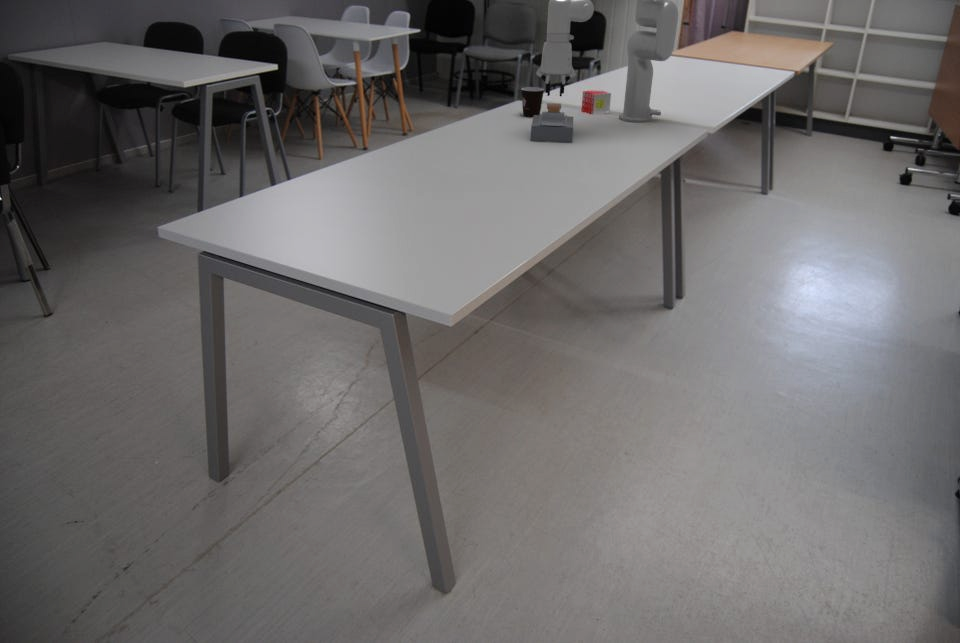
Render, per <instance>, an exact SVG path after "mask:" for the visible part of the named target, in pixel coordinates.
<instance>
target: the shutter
mask: <svg viewBox="0 0 960 643" xmlns="http://www.w3.org/2000/svg"><path fill="white" fill-rule="evenodd" d="M541 114H542V120H541V125H549V126H564V116H565V115H566V114H565V112H564V111H563V112H561V111H560V112H548V111H542V112H541Z"/></svg>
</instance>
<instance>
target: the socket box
mask: <svg viewBox="0 0 960 643" xmlns="http://www.w3.org/2000/svg"><path fill="white" fill-rule="evenodd" d="M541 120H542V113H540V115H534V117H533V118H532V121H531V126H530V127H531V128H530V142H546V141H551V143H553V142H554V143H570V142H572V143H573V138H574V116H568V115H567V114H564V126H549V125H541Z"/></svg>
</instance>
